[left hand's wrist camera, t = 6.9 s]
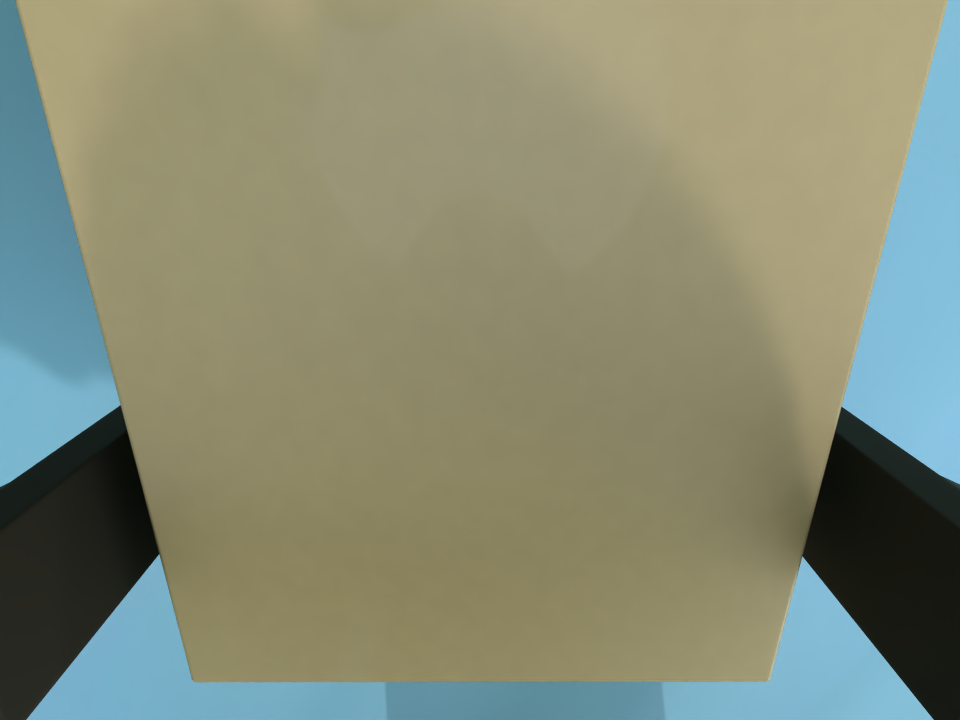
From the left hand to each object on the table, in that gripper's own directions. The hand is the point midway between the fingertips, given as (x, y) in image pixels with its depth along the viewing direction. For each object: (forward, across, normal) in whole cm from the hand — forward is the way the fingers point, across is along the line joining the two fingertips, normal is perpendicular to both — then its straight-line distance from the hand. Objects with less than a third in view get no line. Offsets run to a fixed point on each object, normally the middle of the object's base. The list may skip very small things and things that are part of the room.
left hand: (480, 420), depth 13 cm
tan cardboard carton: (+6, 0, -6) cm, 9 cm away
